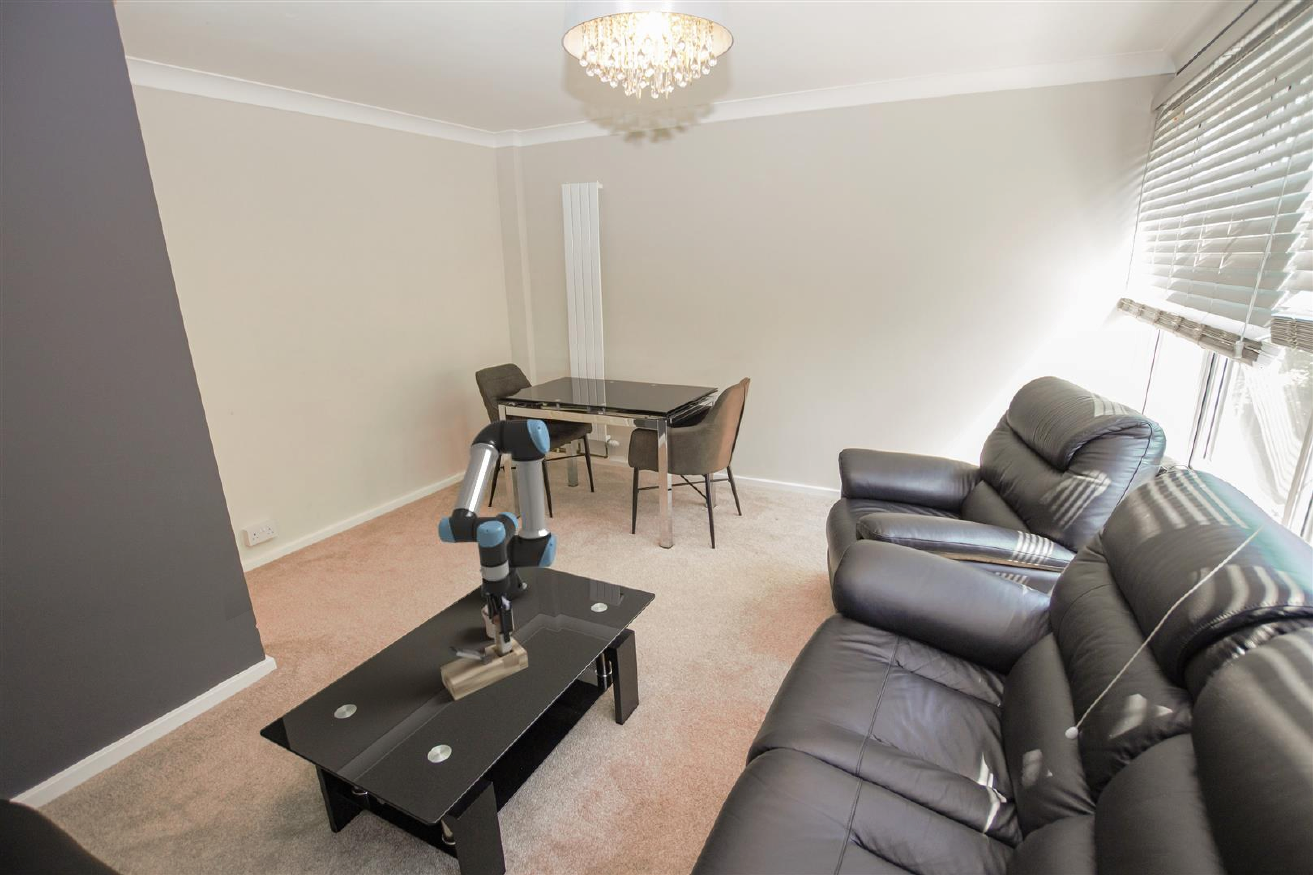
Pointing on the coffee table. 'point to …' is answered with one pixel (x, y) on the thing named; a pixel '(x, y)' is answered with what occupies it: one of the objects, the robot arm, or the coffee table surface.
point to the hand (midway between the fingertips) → (503, 646)
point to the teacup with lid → (488, 622)
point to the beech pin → (498, 629)
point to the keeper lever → (465, 653)
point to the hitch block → (482, 669)
